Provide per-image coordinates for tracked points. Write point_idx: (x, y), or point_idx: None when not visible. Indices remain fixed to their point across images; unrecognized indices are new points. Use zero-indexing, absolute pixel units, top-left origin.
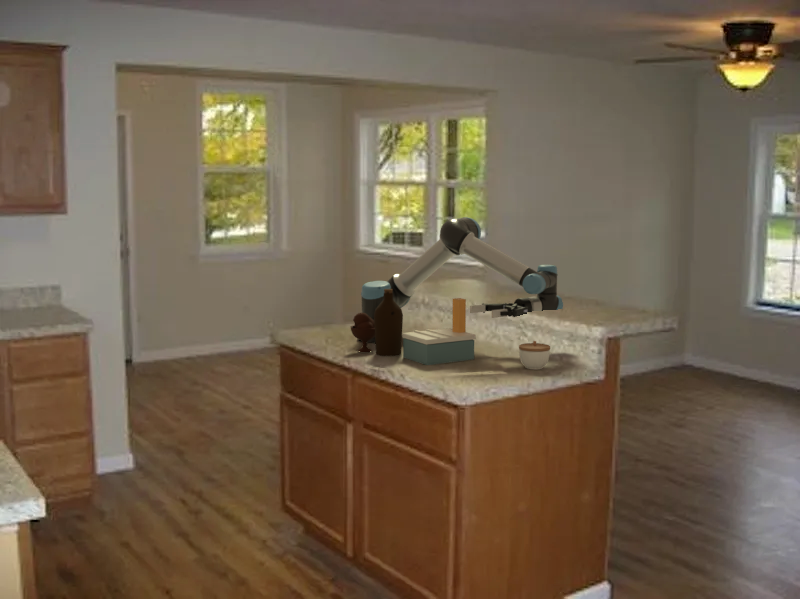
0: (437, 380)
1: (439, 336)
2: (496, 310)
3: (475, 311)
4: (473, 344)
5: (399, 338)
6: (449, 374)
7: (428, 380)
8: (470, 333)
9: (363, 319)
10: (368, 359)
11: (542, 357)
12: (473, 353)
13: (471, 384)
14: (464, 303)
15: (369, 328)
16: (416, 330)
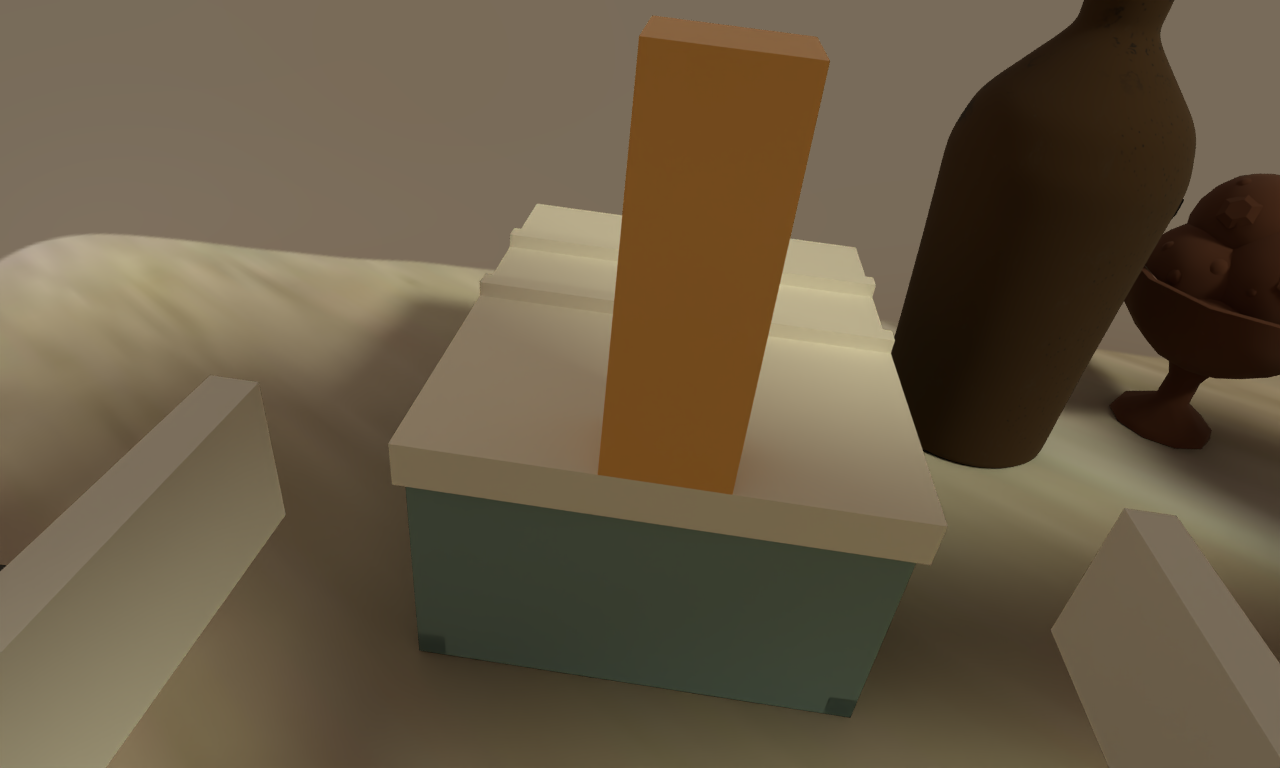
0: (292, 272)
1: (579, 274)
2: (143, 444)
3: (1111, 720)
4: (411, 516)
5: (926, 318)
6: (316, 346)
7: (330, 260)
8: (487, 455)
9: (1200, 205)
10: None
11: None
12: (418, 586)
13: (77, 291)
14: (636, 103)
15: (1148, 266)
16: (852, 280)
